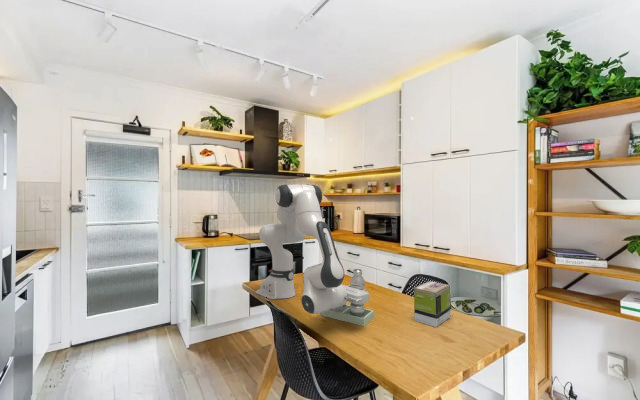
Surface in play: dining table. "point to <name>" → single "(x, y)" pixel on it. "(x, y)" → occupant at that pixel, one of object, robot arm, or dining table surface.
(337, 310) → the skincare box
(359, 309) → the plastic bottle
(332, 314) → the tray
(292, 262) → the robot arm
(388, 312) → the dining table surface
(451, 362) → the dining table surface
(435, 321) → the tea box
